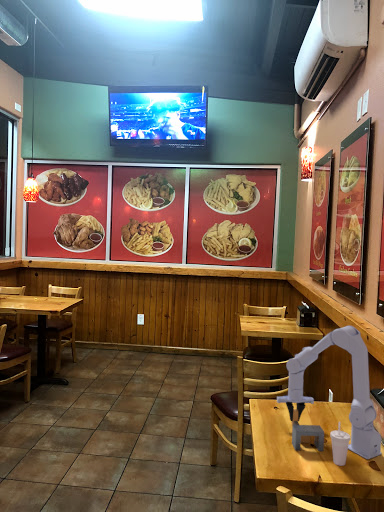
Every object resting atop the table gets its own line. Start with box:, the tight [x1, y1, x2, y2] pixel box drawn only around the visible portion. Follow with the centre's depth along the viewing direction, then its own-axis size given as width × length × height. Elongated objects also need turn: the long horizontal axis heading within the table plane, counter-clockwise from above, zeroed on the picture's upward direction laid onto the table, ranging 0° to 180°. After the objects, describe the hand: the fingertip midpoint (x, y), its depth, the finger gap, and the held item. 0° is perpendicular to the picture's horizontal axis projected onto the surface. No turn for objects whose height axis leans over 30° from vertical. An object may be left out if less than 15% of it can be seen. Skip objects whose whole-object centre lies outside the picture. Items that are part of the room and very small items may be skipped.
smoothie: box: [329, 421, 351, 466], centre depth 137 cm, size 6×6×14 cm
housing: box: [291, 424, 325, 452], centre depth 147 cm, size 5×10×7 cm, turn 90°
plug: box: [291, 408, 311, 444], centre depth 158 cm, size 16×4×6 cm, turn 0°
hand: (294, 420), depth 166 cm, fingers closed on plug, 2 cm apart
